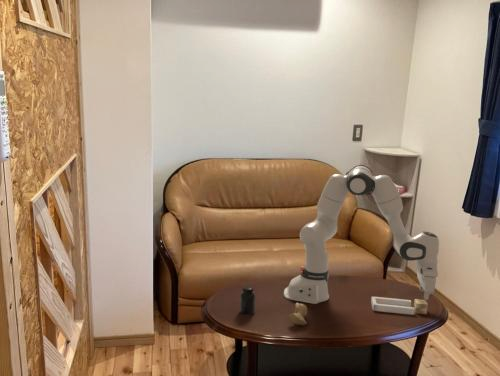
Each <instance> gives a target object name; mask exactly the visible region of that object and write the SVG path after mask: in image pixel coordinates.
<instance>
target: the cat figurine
mask: <svg viewBox="0 0 500 376" xmlns="http://www.w3.org/2000/svg"><path fill="white" fill-rule="evenodd" d="M294 305H295V310H294V312H293V313H289V314H288V316H289V318H290V320H291V321H292V323H294V324H295V325H301V326H305V325H306V324H308V322H307V321H306V320H305V318H304V317H305V316H306V315H307V313H308V307H307V305H306V304H304V303H299V301H297V302H296V303H295V304H294Z"/></svg>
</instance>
